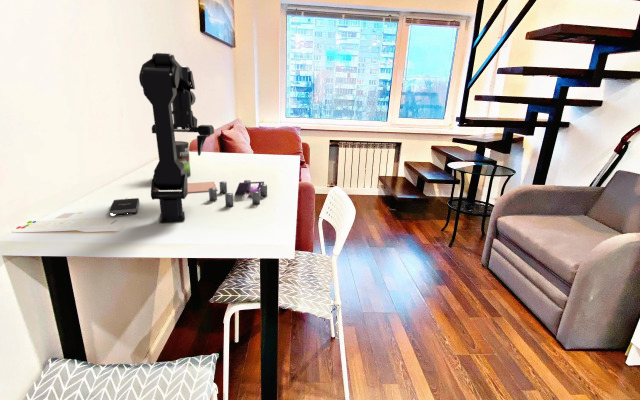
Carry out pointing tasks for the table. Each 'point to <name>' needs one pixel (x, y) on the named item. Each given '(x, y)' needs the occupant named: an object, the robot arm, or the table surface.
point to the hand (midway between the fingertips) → (185, 155)
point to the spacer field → (229, 196)
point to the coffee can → (183, 155)
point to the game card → (243, 187)
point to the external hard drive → (124, 206)
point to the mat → (200, 187)
